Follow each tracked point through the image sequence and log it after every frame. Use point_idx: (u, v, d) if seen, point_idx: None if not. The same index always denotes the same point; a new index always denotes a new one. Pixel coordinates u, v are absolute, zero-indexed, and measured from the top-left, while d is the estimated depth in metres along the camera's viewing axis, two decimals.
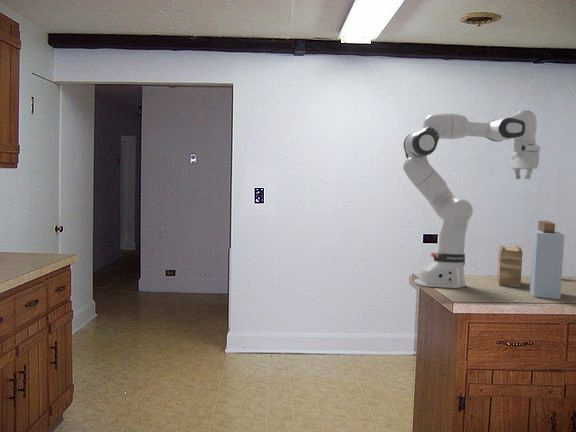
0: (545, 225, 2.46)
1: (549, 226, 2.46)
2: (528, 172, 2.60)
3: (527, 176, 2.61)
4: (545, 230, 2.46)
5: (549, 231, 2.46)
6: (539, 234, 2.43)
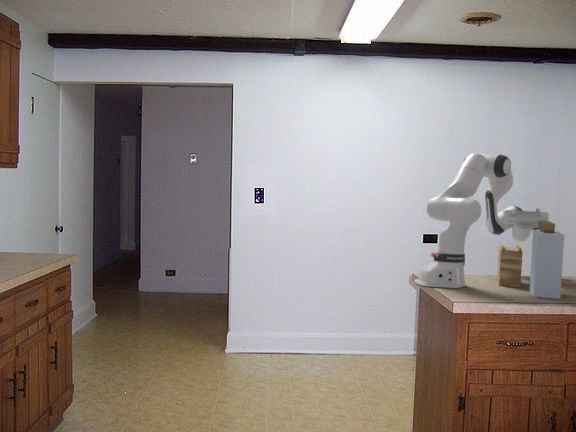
0: (545, 225, 2.46)
1: (549, 226, 2.46)
2: (540, 211, 2.82)
3: None
4: (545, 230, 2.46)
5: (549, 231, 2.46)
6: (539, 234, 2.43)
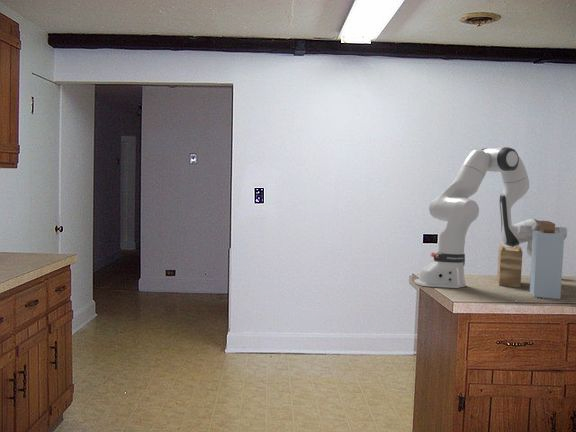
0: (545, 225, 2.46)
1: (549, 226, 2.46)
2: None
3: None
4: (545, 230, 2.46)
5: (549, 231, 2.46)
6: (539, 234, 2.43)
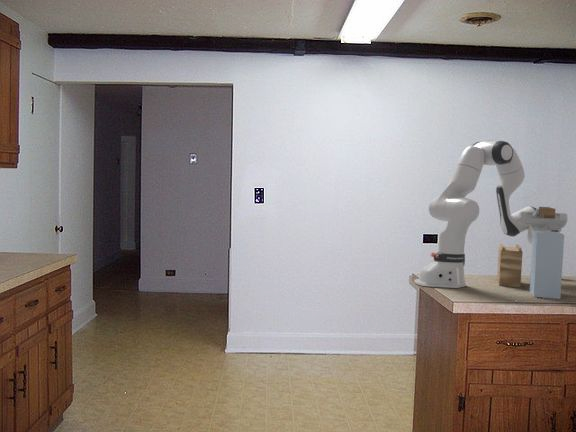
0: (545, 210, 2.48)
1: (549, 211, 2.48)
2: None
3: None
4: (545, 215, 2.48)
5: (549, 216, 2.48)
6: (539, 234, 2.43)
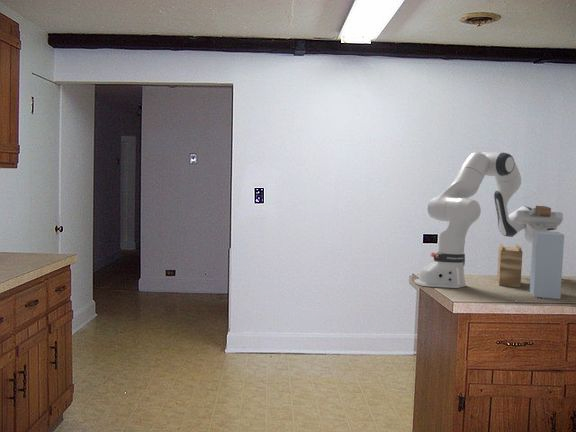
0: (541, 209, 2.60)
1: (545, 210, 2.60)
2: None
3: None
4: (541, 214, 2.60)
5: (545, 215, 2.60)
6: (539, 234, 2.43)
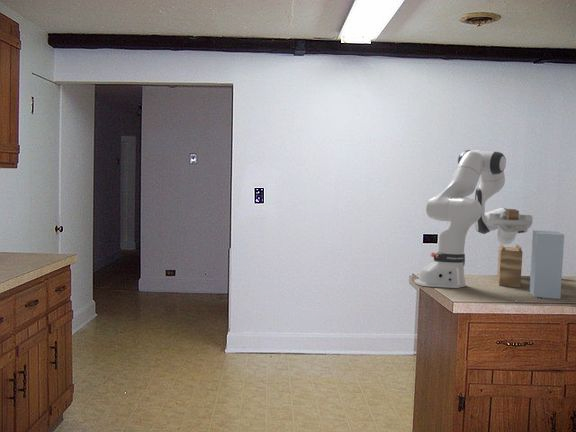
0: (510, 212, 2.67)
1: (513, 213, 2.67)
2: (519, 215, 2.84)
3: None
4: (510, 217, 2.67)
5: (513, 218, 2.67)
6: (539, 234, 2.43)
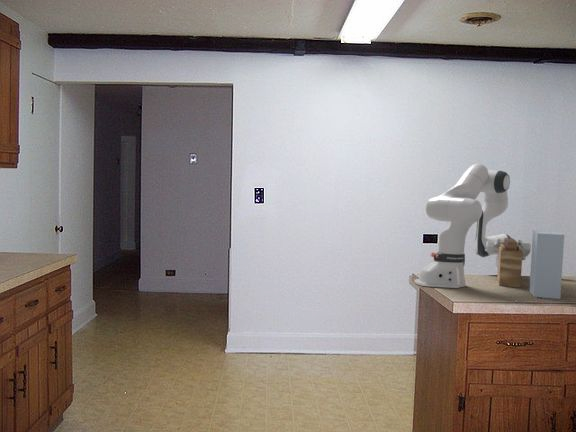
0: (508, 243, 2.68)
1: (512, 244, 2.67)
2: (522, 243, 2.84)
3: None
4: (508, 248, 2.68)
5: (512, 249, 2.68)
6: (539, 234, 2.43)
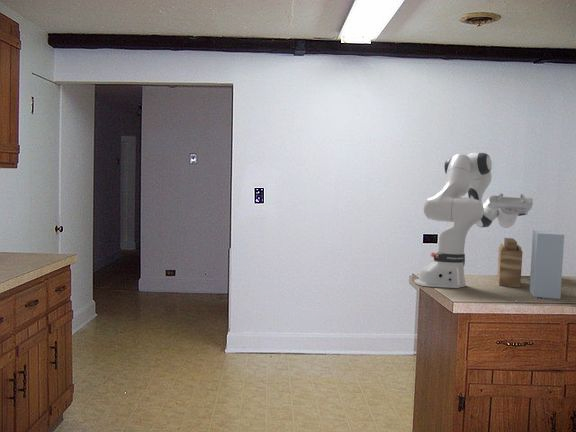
0: (508, 243, 2.68)
1: (512, 244, 2.67)
2: (524, 197, 2.92)
3: (523, 196, 2.91)
4: (508, 248, 2.68)
5: (512, 249, 2.68)
6: (539, 234, 2.43)
